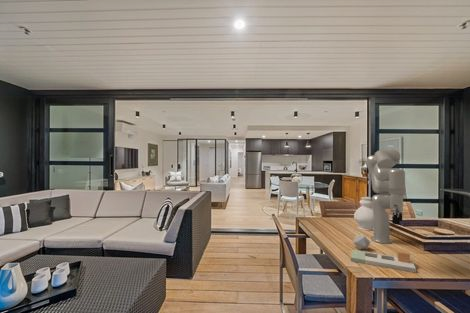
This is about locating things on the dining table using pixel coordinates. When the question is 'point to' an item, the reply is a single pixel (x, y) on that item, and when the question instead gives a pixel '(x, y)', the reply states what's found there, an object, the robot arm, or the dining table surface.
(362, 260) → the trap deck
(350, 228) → the dining table surface
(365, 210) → the decorative vase
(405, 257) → the block
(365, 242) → the die
